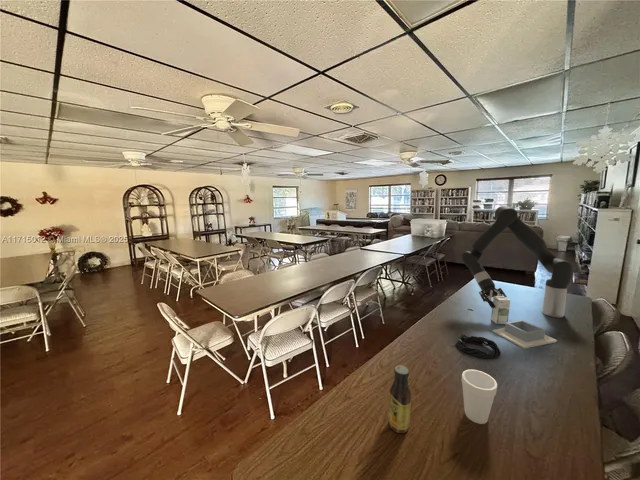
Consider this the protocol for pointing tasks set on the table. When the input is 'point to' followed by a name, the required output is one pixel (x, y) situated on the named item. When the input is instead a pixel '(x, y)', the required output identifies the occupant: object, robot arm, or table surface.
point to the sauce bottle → (400, 401)
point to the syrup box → (500, 310)
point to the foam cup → (478, 395)
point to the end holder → (524, 334)
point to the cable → (478, 352)
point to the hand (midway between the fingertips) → (500, 307)
